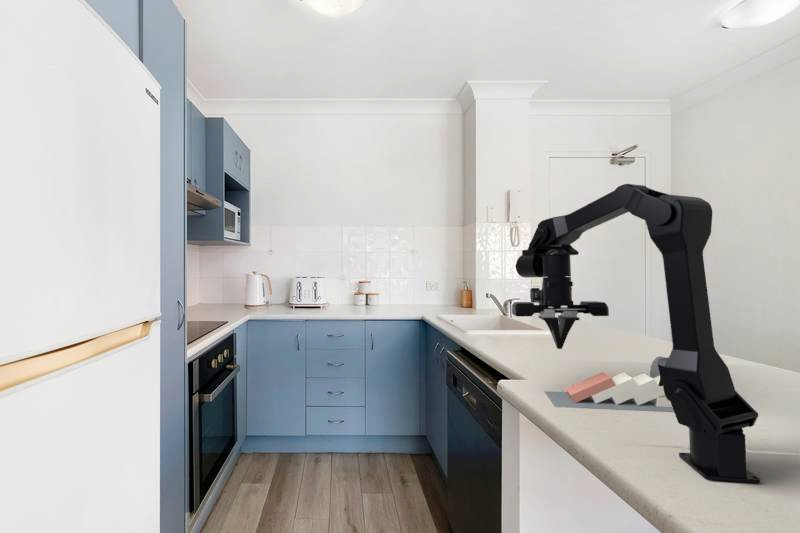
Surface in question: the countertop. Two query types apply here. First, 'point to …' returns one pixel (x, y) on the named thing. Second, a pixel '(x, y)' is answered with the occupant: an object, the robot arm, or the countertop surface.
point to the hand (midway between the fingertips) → (559, 348)
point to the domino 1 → (590, 387)
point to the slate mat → (602, 403)
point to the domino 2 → (615, 387)
